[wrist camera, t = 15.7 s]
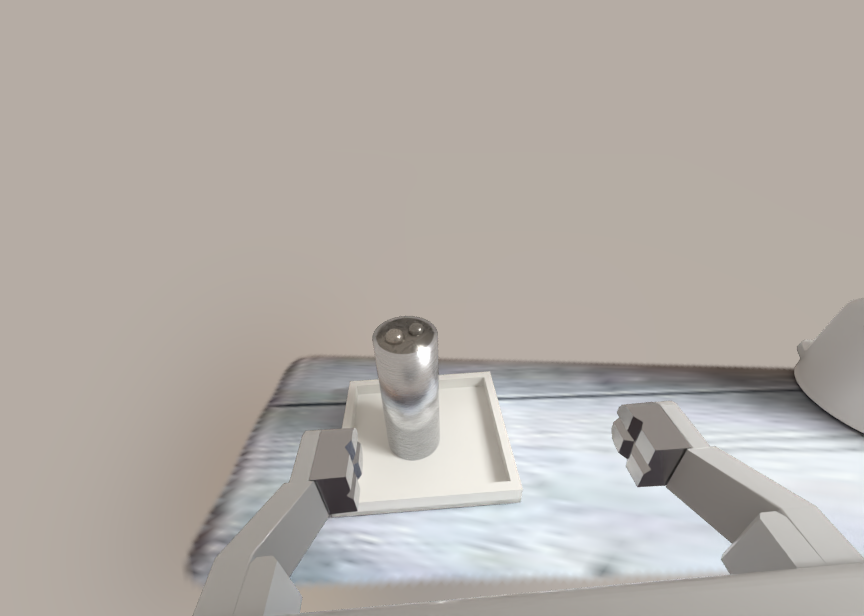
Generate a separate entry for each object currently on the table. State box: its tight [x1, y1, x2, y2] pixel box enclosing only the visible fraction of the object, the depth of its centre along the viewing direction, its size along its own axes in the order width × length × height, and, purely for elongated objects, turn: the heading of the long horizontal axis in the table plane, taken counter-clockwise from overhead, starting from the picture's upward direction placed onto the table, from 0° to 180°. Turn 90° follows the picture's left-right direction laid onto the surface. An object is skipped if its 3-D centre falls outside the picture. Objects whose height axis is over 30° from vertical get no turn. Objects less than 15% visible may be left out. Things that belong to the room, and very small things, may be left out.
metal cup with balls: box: [372, 316, 440, 461], centre depth 32 cm, size 5×5×14 cm
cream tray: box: [332, 372, 523, 518], centre depth 36 cm, size 16×14×2 cm
